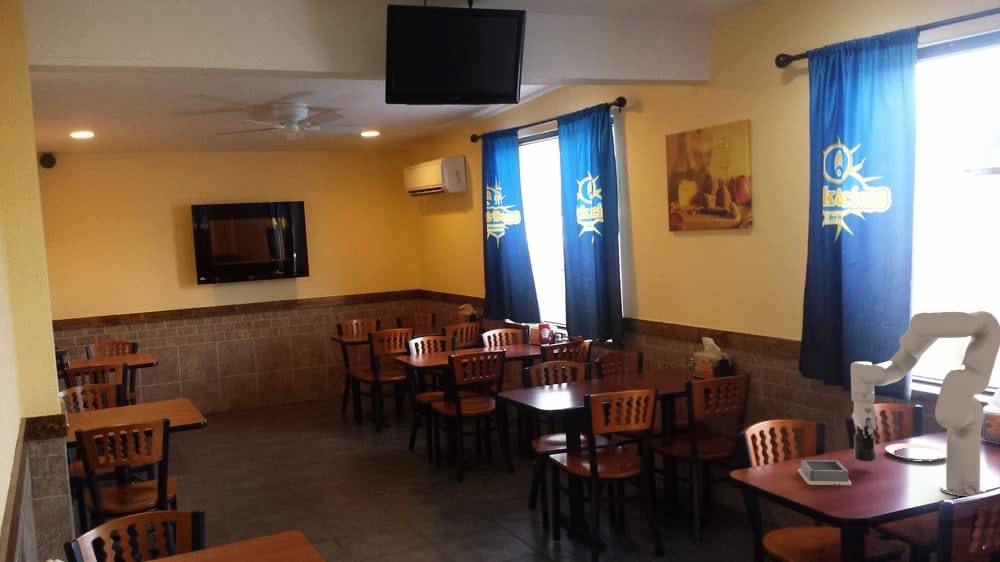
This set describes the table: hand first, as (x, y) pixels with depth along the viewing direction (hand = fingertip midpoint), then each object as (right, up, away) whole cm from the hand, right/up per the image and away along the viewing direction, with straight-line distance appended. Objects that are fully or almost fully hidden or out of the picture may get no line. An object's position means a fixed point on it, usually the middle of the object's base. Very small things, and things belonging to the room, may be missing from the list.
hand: (864, 445), depth 287 cm
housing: (-18, -10, -8) cm, 22 cm away
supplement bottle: (0, -5, 0) cm, 5 cm away
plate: (+26, -7, +14) cm, 30 cm away
